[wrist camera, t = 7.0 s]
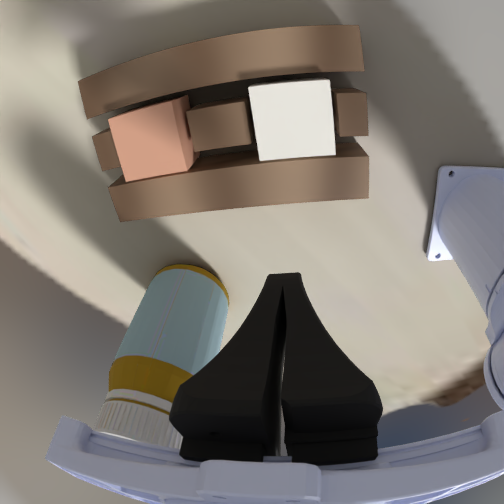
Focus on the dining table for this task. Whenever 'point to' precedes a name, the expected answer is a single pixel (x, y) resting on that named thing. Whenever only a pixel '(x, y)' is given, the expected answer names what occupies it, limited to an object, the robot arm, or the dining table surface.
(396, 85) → the dining table surface
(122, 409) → the bottle
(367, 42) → the dining table surface
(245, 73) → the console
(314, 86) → the cream key
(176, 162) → the terracotta key
